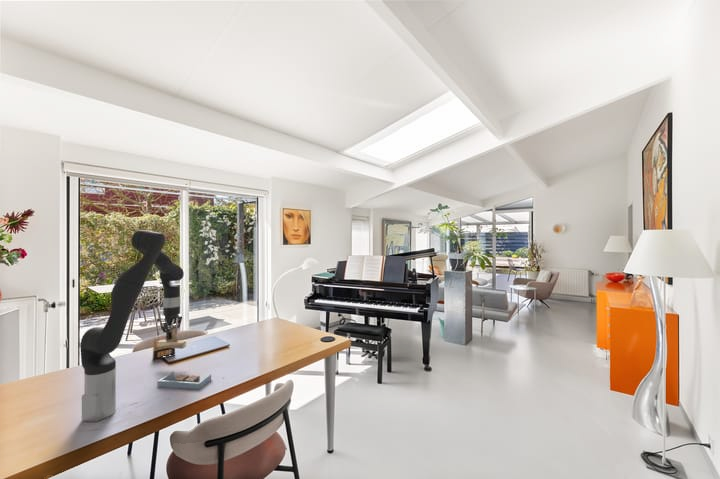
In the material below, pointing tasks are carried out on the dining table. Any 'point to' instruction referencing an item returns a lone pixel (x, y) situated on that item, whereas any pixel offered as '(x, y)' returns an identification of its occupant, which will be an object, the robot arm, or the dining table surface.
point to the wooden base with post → (172, 341)
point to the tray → (179, 384)
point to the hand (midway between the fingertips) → (171, 338)
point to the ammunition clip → (161, 350)
